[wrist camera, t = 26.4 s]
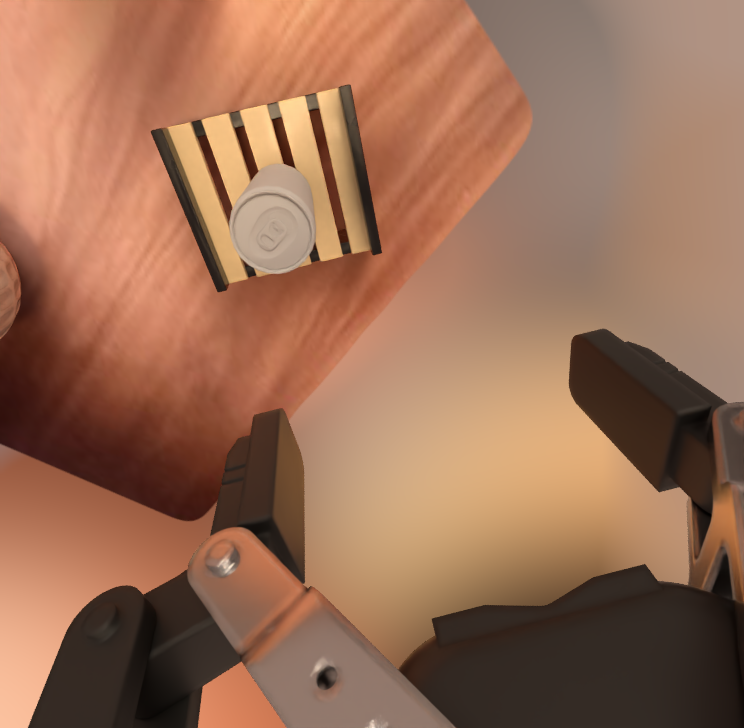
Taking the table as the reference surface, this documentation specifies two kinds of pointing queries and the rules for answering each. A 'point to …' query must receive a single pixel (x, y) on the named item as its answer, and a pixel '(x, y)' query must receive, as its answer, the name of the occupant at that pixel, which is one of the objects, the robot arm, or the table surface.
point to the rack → (343, 147)
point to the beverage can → (274, 220)
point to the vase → (8, 290)
